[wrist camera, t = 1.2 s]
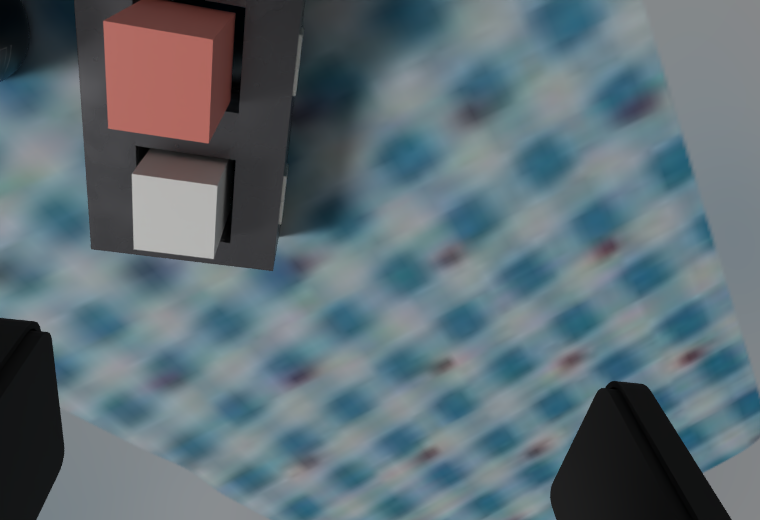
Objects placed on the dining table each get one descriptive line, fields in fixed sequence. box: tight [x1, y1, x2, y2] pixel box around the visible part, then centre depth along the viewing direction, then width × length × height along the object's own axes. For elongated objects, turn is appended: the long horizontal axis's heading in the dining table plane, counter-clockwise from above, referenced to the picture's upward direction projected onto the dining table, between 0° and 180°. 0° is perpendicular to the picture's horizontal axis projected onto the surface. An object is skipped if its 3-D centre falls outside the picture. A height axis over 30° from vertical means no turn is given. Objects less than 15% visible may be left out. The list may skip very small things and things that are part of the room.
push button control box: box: [74, 0, 305, 271], centre depth 29 cm, size 27×10×4 cm, turn 170°
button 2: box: [103, 0, 236, 143], centre depth 26 cm, size 4×4×6 cm
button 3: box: [132, 148, 234, 259], centre depth 33 cm, size 4×4×6 cm
